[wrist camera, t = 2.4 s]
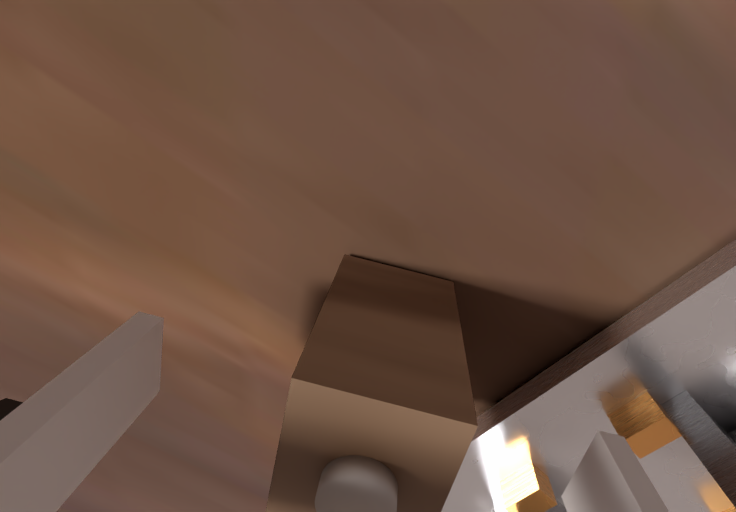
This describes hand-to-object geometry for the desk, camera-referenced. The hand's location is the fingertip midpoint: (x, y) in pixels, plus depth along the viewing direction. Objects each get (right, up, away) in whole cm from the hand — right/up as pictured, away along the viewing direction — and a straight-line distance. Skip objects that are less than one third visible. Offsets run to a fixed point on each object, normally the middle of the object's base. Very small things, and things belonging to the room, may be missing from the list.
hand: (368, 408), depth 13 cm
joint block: (+1, +2, +3) cm, 4 cm away
